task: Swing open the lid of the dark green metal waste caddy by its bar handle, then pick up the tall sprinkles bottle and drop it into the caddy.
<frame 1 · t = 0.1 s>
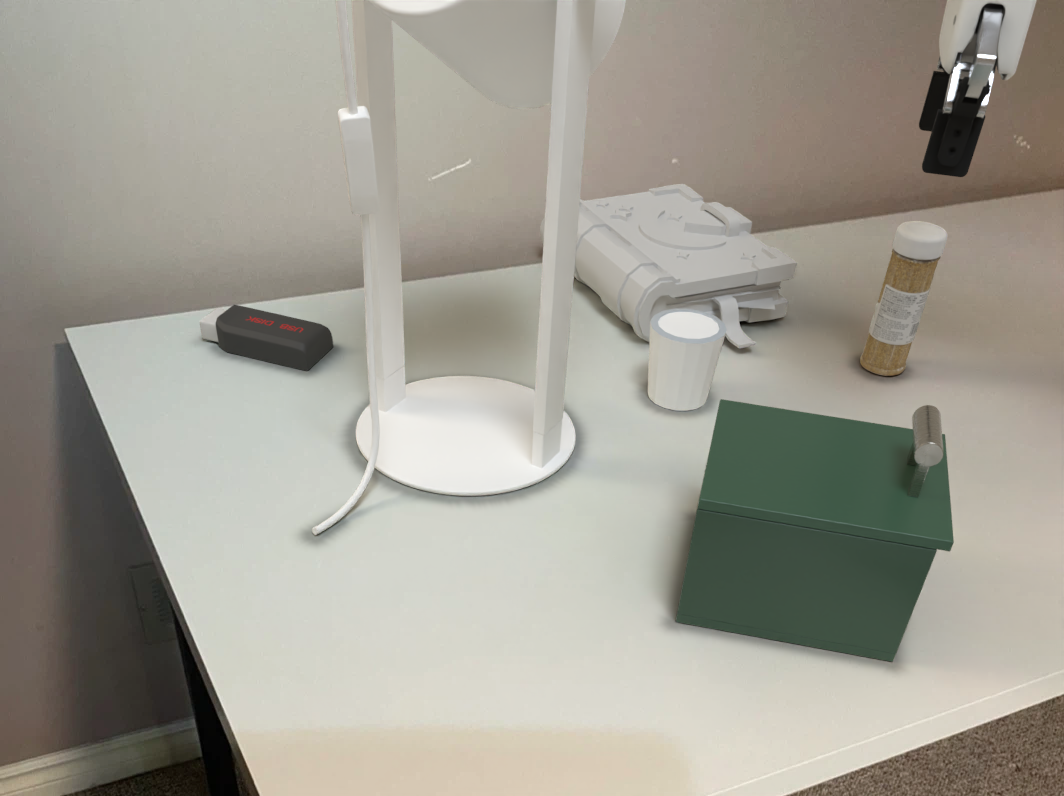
hand: (940, 151, 81), 24 cm above the table, tool pointing down, fingers open, 9 cm apart
sprinkles bottle: (881, 368, 107), on the table
caddy lid: (834, 443, 73), point 12 cm above the table, hinge at 0.0°
usb drive: (266, 348, 104), on the table
caddy: (788, 584, 82), on the table
shot glass: (676, 397, 101), on the table
desk lamp: (446, 452, 93), on the table
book: (670, 299, 116), on the table
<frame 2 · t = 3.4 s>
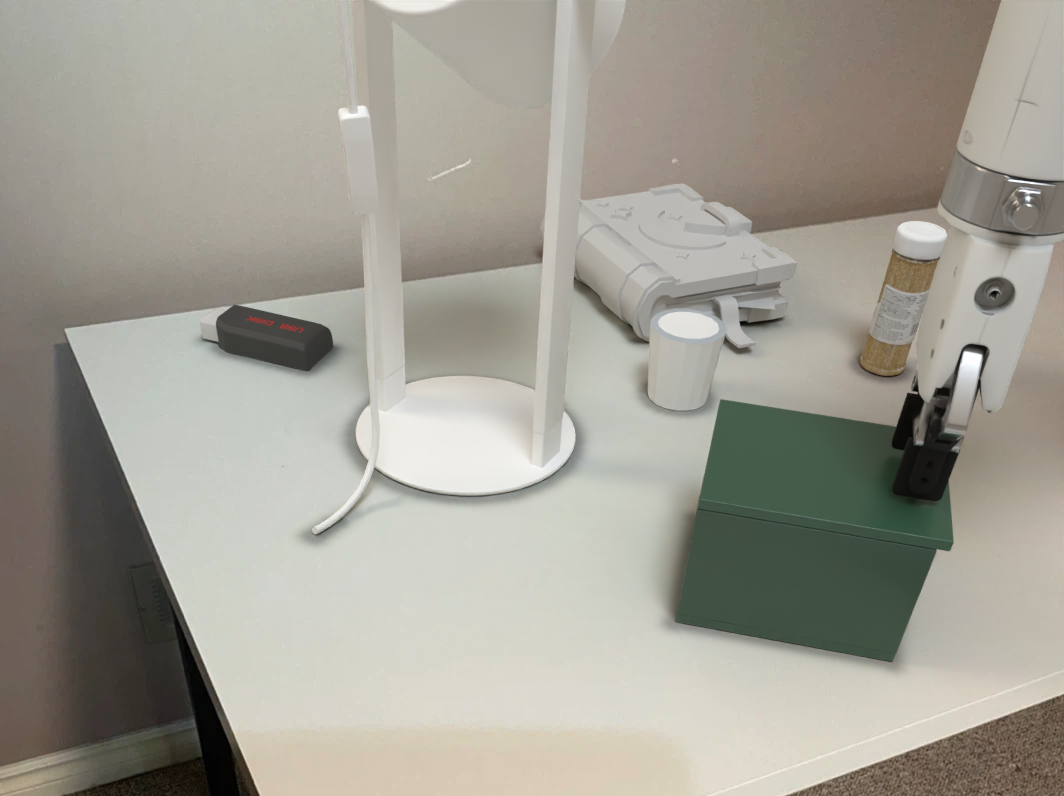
hand: (915, 469, 73), 11 cm above the table, tool pointing down, fingers closed on caddy lid, 5 cm apart
caddy lid: (834, 443, 73), point 12 cm above the table, hinge at 0.0°, touching gripper
everything else where it was.
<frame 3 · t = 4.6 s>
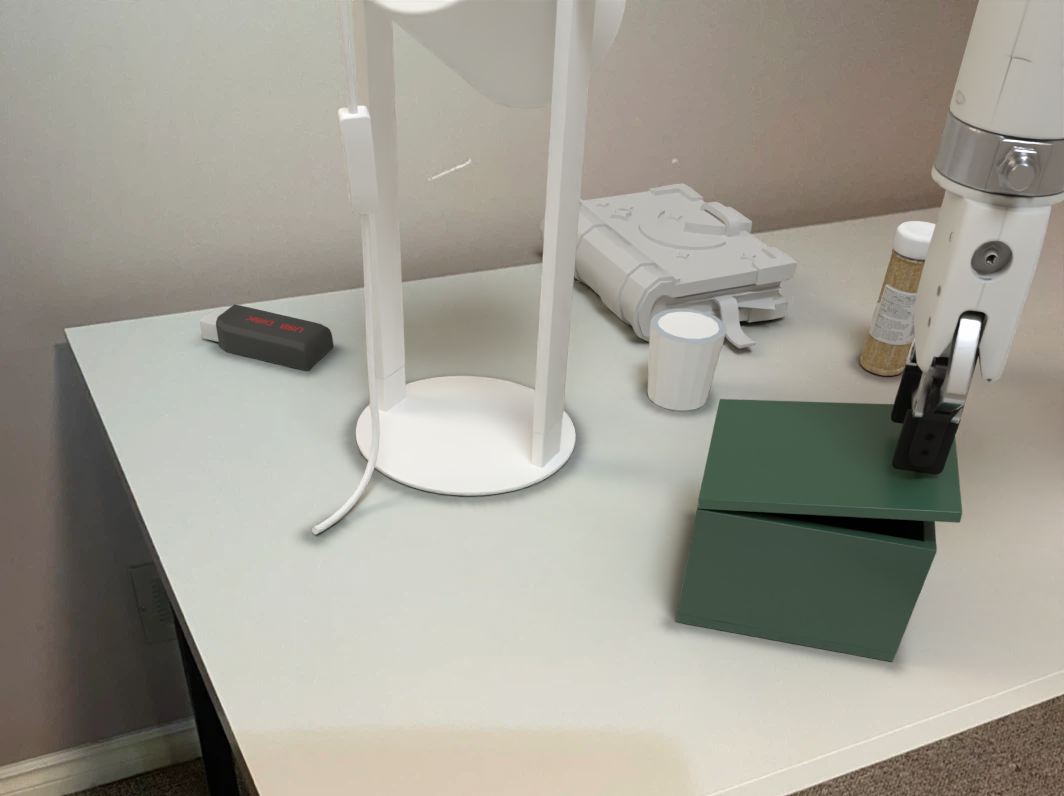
hand: (915, 443, 72), 13 cm above the table, tool pointing down, fingers closed on caddy lid, 5 cm apart
caddy lid: (833, 427, 72), point 13 cm above the table, hinge at 7.8°, touching gripper
everything else where it was.
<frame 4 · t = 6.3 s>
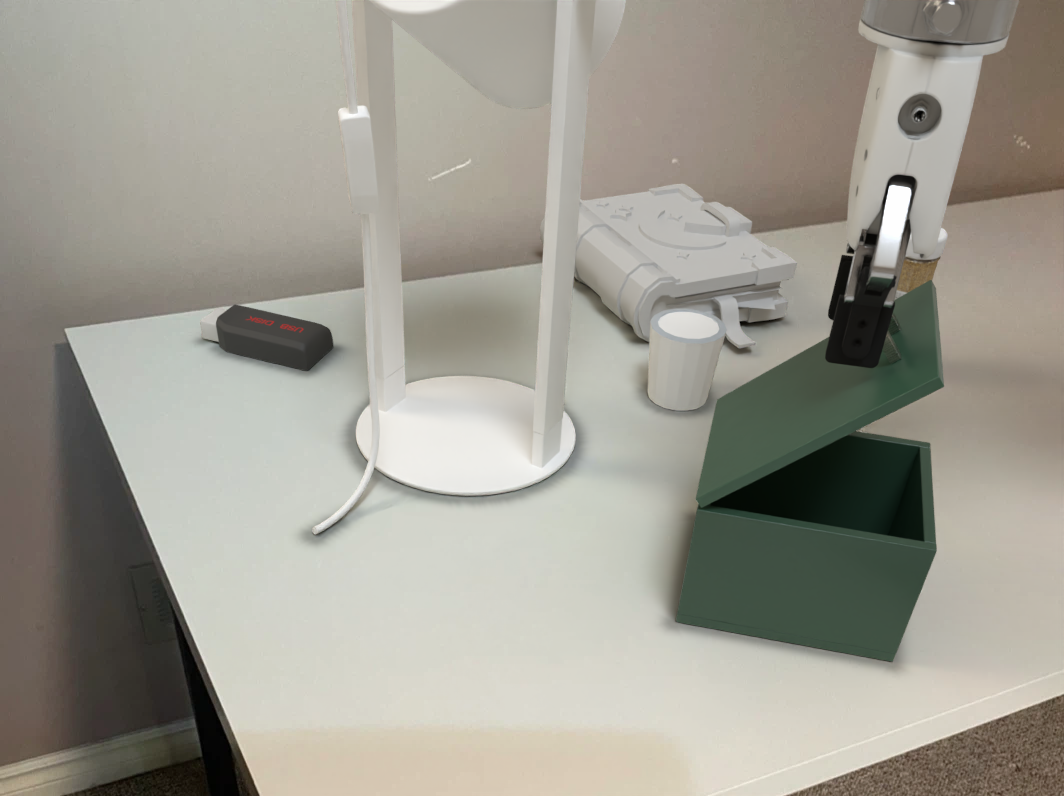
hand: (851, 338, 68), 20 cm above the table, tool pointing down, fingers closed on caddy lid, 5 cm apart
caddy lid: (800, 368, 70), point 17 cm above the table, hinge at 41.3°, touching gripper
everything else where it was.
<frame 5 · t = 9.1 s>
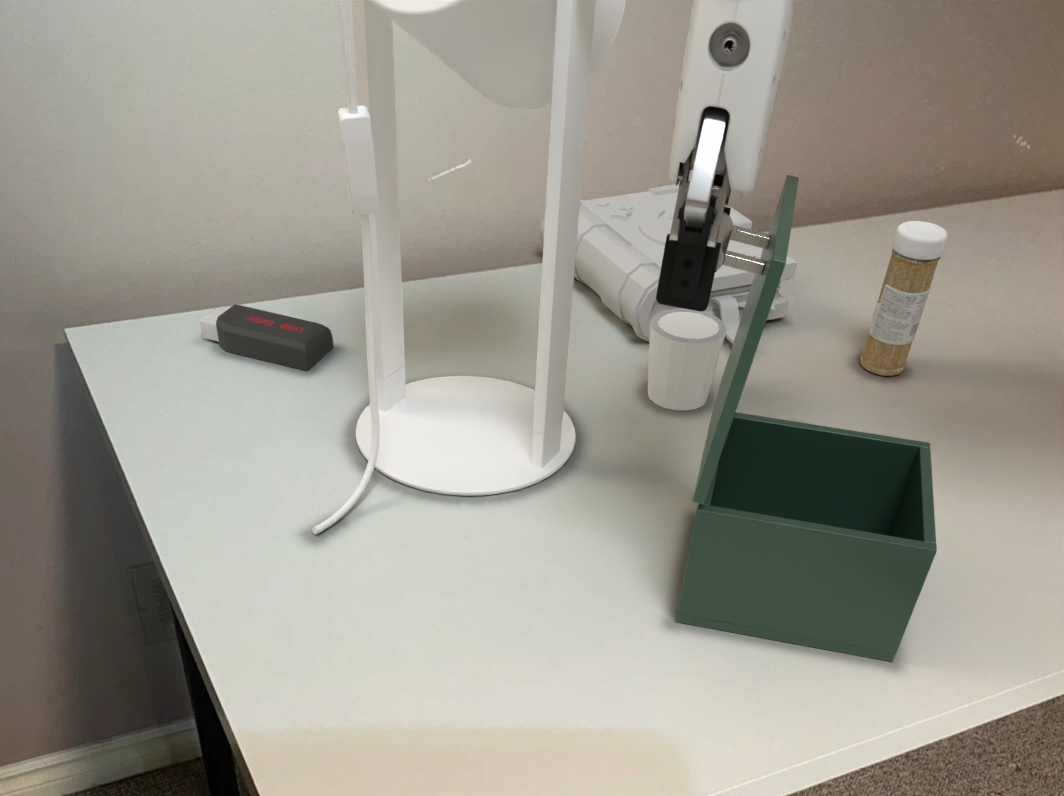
hand: (687, 283, 68), 22 cm above the table, tool pointing down, fingers closed on caddy lid, 5 cm apart
caddy lid: (713, 334, 70), point 19 cm above the table, hinge at 83.5°, touching gripper
everything else where it was.
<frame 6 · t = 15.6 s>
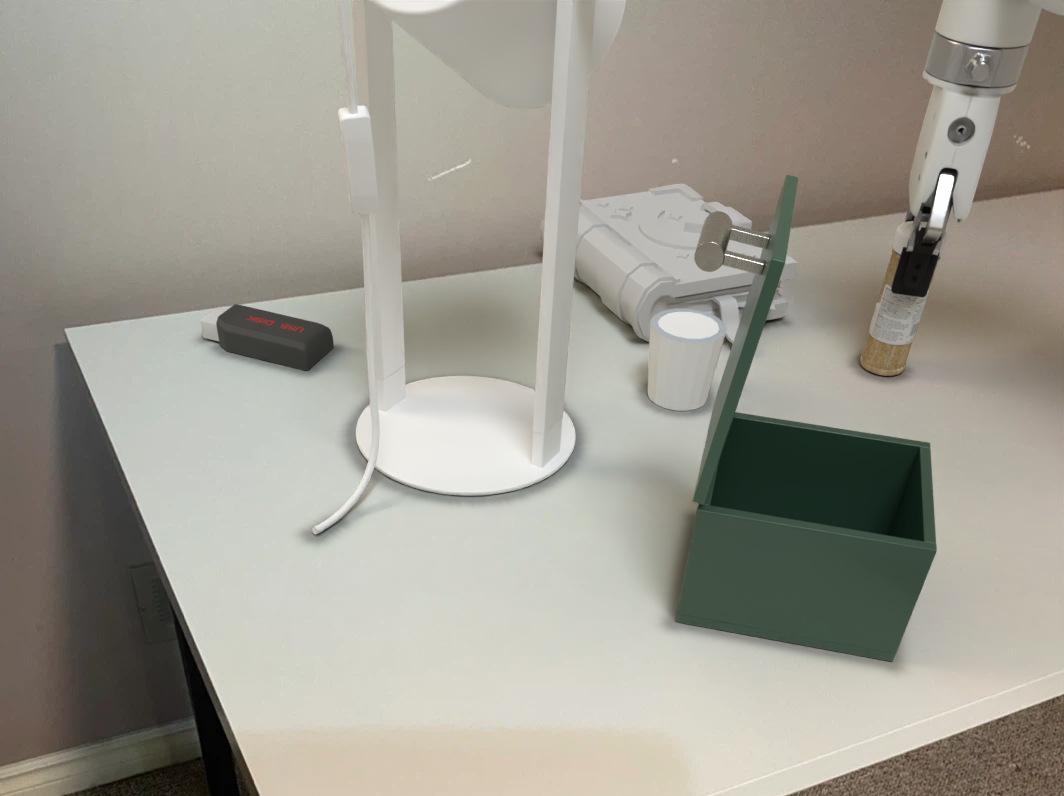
hand: (908, 280, 101), 9 cm above the table, tool pointing down, fingers closed on sprinkles bottle, 4 cm apart
sprinkles bottle: (881, 368, 107), on the table, touching gripper
caddy lid: (713, 334, 70), point 19 cm above the table, hinge at 83.6°
everything else where it was.
when the fingers open (18 cm above the table, at t = 22.1 s): sprinkles bottle drops 8 cm, resting on caddy.
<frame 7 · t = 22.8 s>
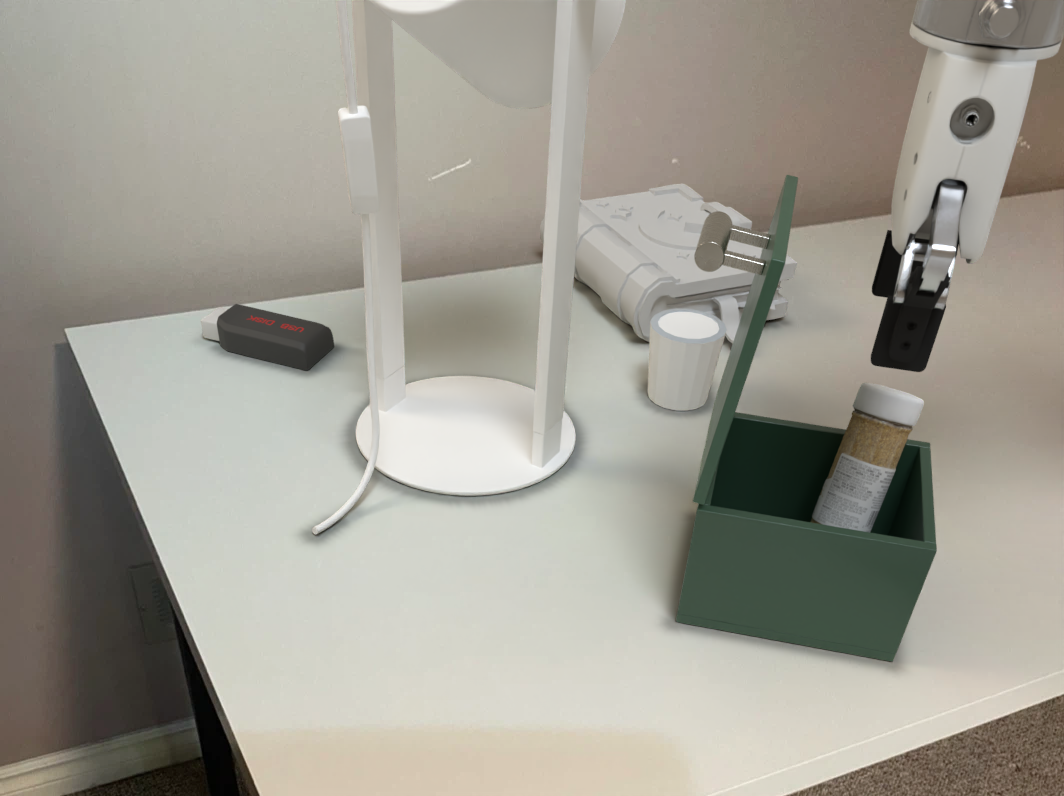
hand: (895, 330, 67), 21 cm above the table, tool pointing down, fingers open, 9 cm apart
sprinkles bottle: (822, 571, 81), point 2 cm above the table, touching caddy
everything else where it was.
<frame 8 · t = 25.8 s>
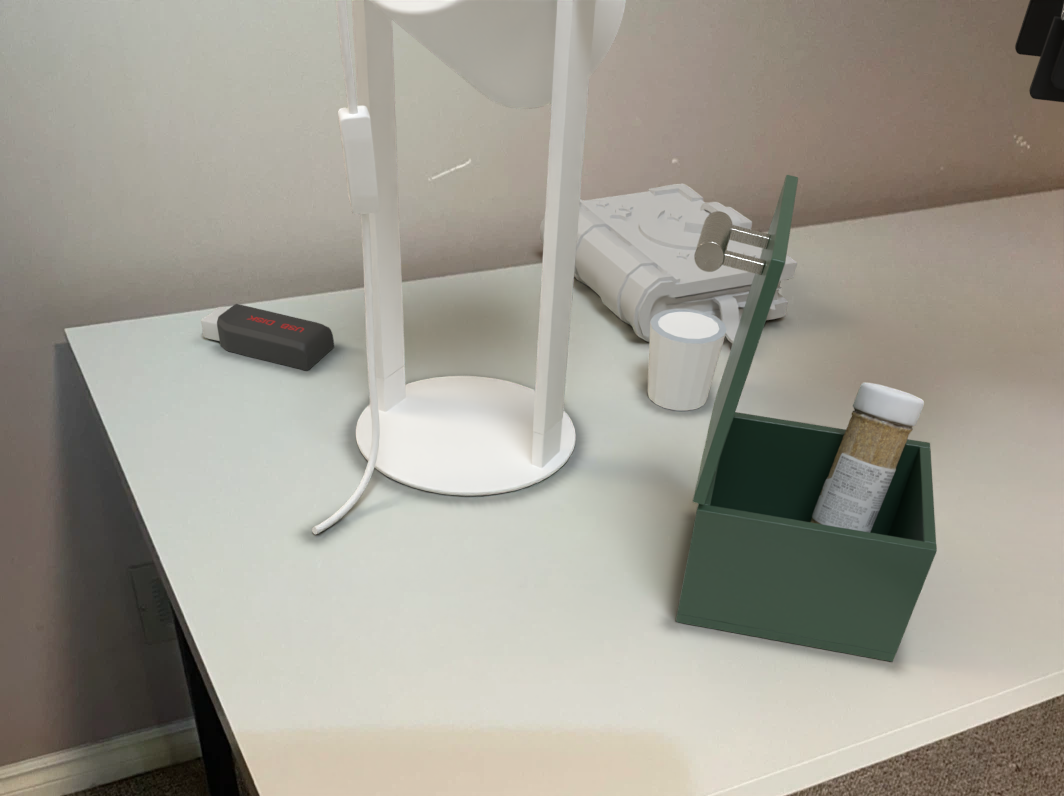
hand: (1047, 76, 66), 32 cm above the table, tool pointing down, fingers open, 9 cm apart
nothing on the table moved.
at the end: caddy lid at +84° (first picture: +0°); sprinkles bottle inside the target area in the caddy (2.2 cm from its centre), point 1.6 cm above the caddy's base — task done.
